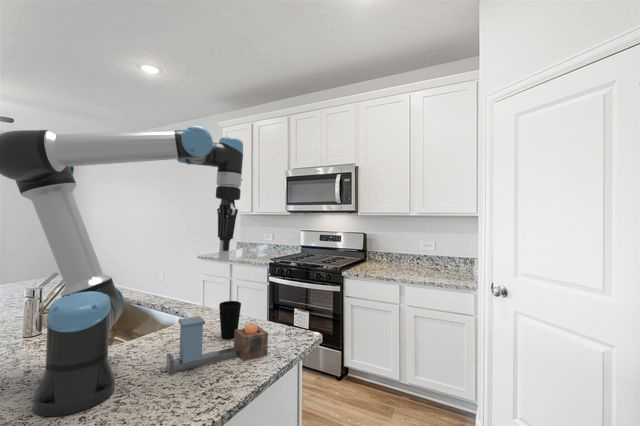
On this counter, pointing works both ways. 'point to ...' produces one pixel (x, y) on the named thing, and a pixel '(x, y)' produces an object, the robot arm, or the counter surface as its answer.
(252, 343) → the brown wooden box
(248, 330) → the button
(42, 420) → the counter surface
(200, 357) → the carriage
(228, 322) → the cup
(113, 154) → the robot arm
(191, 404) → the counter surface
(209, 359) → the rail
